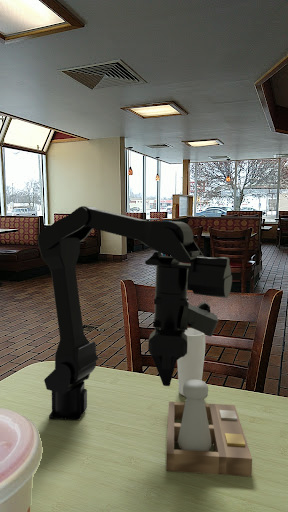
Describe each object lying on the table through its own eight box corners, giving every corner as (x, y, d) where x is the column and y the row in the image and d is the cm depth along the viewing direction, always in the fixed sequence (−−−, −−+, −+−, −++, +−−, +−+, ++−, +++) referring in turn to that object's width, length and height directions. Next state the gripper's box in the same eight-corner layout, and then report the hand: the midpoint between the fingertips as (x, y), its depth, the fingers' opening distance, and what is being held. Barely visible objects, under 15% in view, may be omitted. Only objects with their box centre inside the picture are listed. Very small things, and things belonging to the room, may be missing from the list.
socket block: (166, 470, 61) (166, 451, 61) (168, 415, 79) (168, 399, 79) (251, 476, 60) (252, 456, 60) (234, 418, 78) (234, 403, 78)
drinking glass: (185, 402, 85) (187, 337, 84) (170, 390, 91) (171, 329, 90) (209, 396, 88) (211, 333, 87) (193, 385, 94) (194, 326, 93)
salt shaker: (210, 467, 62) (212, 391, 61) (175, 462, 63) (176, 387, 62) (211, 447, 68) (213, 377, 67) (180, 442, 69) (181, 374, 68)
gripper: (222, 305, 58) (216, 402, 59) (212, 284, 76) (208, 359, 78) (149, 301, 59) (146, 396, 60) (157, 282, 77) (154, 355, 79)
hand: (167, 374), depth 69 cm, fingers open, 9 cm apart
